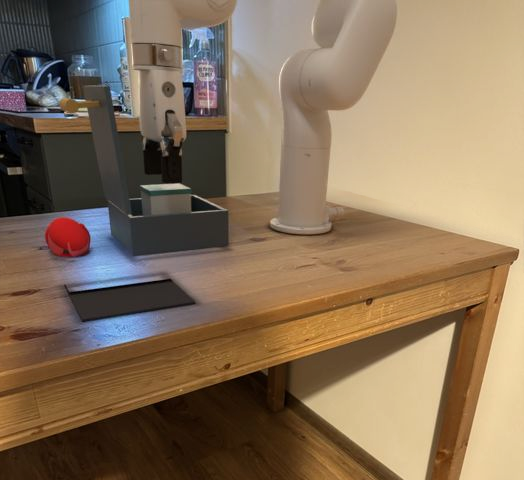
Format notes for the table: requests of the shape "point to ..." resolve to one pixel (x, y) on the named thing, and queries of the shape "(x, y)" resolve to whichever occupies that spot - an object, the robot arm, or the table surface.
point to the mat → (128, 299)
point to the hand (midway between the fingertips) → (162, 178)
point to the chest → (170, 228)
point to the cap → (67, 237)
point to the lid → (104, 142)
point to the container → (165, 199)
